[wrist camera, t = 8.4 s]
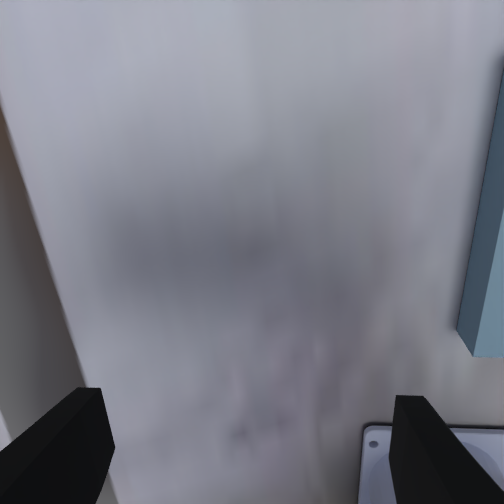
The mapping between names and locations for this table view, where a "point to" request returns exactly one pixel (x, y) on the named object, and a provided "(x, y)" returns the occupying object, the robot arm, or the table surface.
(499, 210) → the base board
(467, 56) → the table surface
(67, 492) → the robot arm
